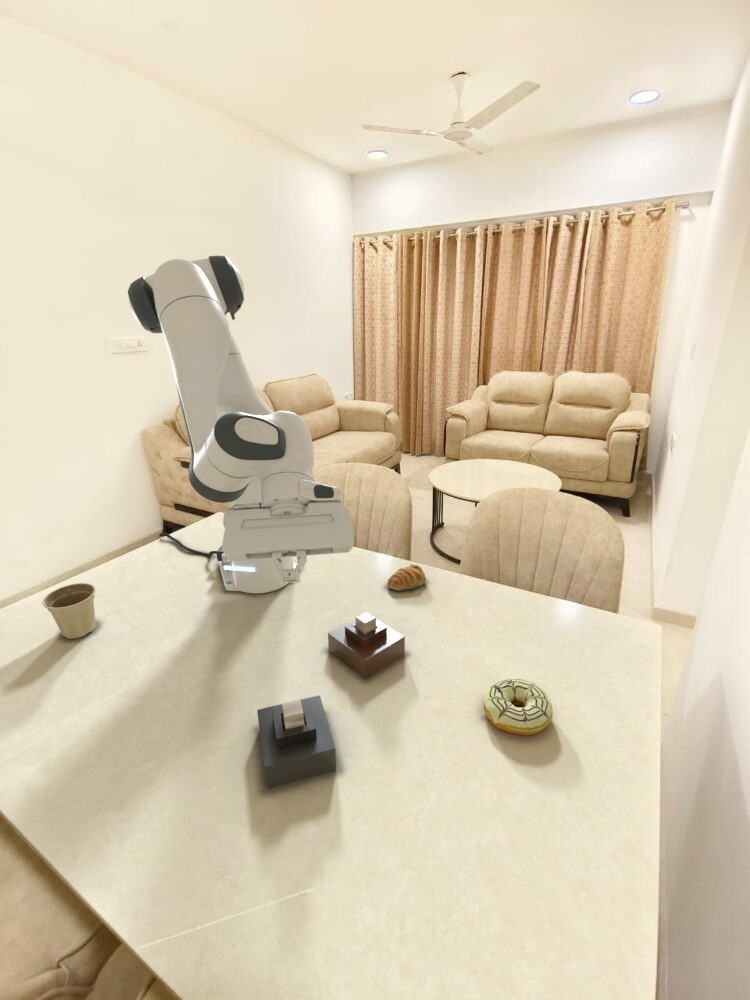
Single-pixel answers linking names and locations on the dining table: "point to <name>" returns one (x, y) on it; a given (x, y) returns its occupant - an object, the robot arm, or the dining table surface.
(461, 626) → the dining table surface
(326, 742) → the black key block
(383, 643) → the walnut key block
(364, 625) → the back key
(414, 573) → the pastry
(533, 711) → the decorated donut
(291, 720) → the front key
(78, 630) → the flower pot
